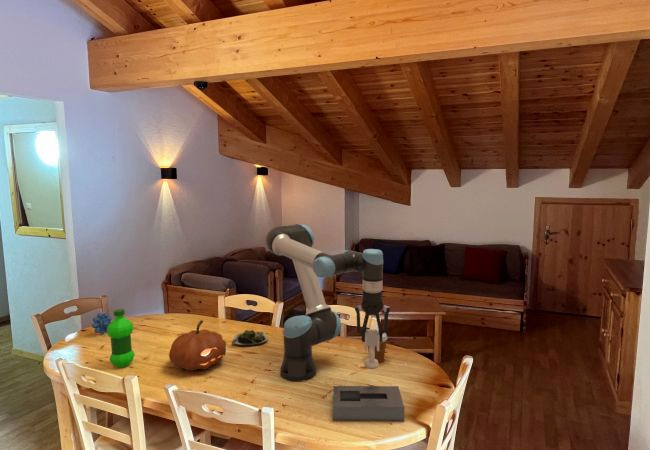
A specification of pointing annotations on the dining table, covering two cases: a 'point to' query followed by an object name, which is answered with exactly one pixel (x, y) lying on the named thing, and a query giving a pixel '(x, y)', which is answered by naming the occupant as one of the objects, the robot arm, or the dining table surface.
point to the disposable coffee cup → (380, 349)
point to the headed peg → (372, 348)
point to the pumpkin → (197, 349)
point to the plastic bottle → (120, 339)
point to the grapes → (101, 323)
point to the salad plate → (250, 339)
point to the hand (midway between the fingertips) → (371, 349)
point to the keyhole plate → (367, 403)
